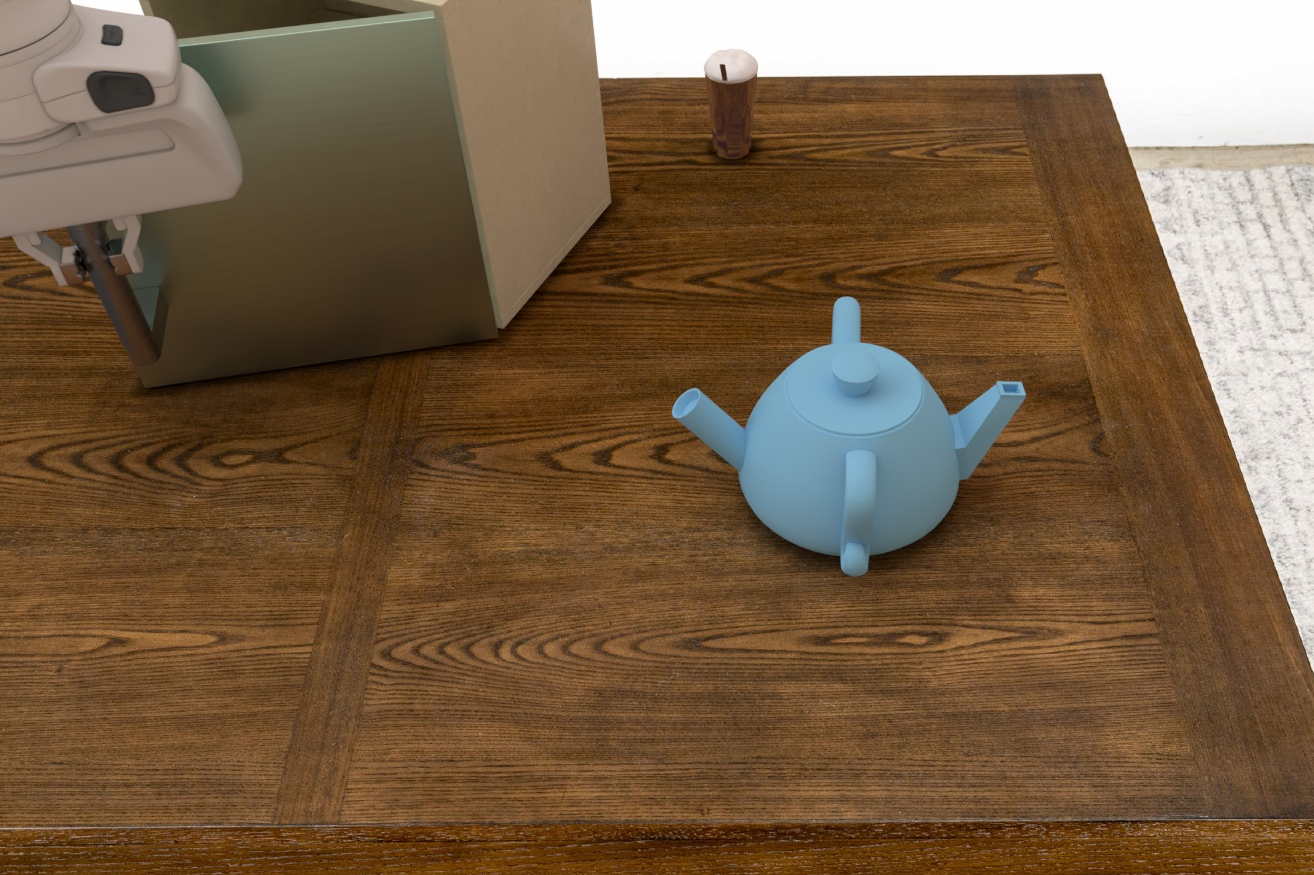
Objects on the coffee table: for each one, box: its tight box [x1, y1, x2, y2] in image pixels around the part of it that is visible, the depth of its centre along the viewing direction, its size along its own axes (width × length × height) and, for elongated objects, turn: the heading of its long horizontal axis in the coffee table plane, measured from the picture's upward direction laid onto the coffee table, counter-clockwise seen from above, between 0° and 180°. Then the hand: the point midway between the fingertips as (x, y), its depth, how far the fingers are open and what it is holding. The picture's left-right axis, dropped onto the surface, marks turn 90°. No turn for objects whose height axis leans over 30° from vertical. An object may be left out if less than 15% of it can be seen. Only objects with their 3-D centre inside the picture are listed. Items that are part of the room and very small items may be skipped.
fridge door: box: [65, 10, 499, 389], centre depth 84 cm, size 7×26×26 cm, turn 101°
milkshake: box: [703, 48, 759, 160], centre depth 109 cm, size 4×5×10 cm
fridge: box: [138, 0, 612, 330], centre depth 97 cm, size 18×26×26 cm
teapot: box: [671, 296, 1027, 578], centre depth 81 cm, size 15×17×11 cm
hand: (103, 273), depth 79 cm, fingers closed on fridge door, 2 cm apart
